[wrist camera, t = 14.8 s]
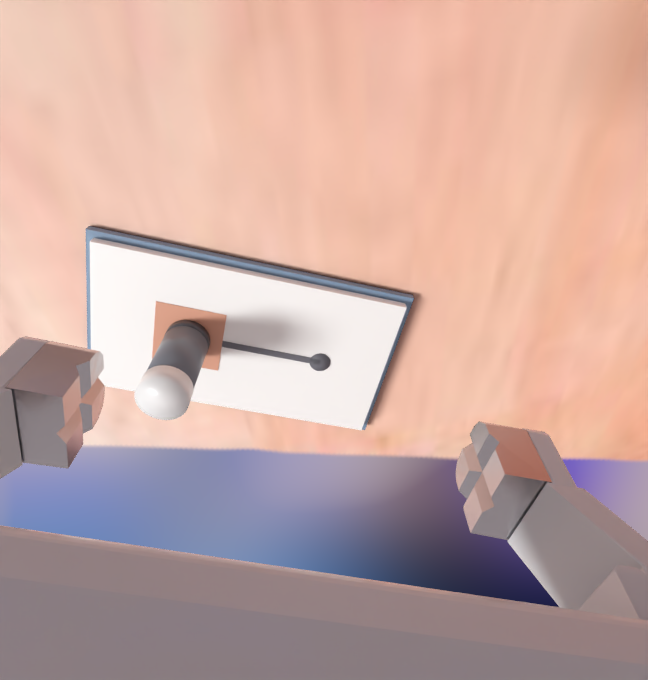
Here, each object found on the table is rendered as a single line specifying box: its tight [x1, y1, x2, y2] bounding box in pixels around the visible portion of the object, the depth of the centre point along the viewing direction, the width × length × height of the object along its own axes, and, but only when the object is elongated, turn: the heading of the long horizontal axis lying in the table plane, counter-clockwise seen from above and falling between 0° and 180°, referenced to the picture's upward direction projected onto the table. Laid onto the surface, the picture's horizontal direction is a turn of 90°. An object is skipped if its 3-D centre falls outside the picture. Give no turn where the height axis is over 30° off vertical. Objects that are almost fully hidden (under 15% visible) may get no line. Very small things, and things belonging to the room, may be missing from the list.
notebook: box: [86, 226, 414, 430], centre depth 38 cm, size 23×13×1 cm, turn 77°
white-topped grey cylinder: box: [135, 320, 210, 420], centre depth 34 cm, size 3×3×7 cm
